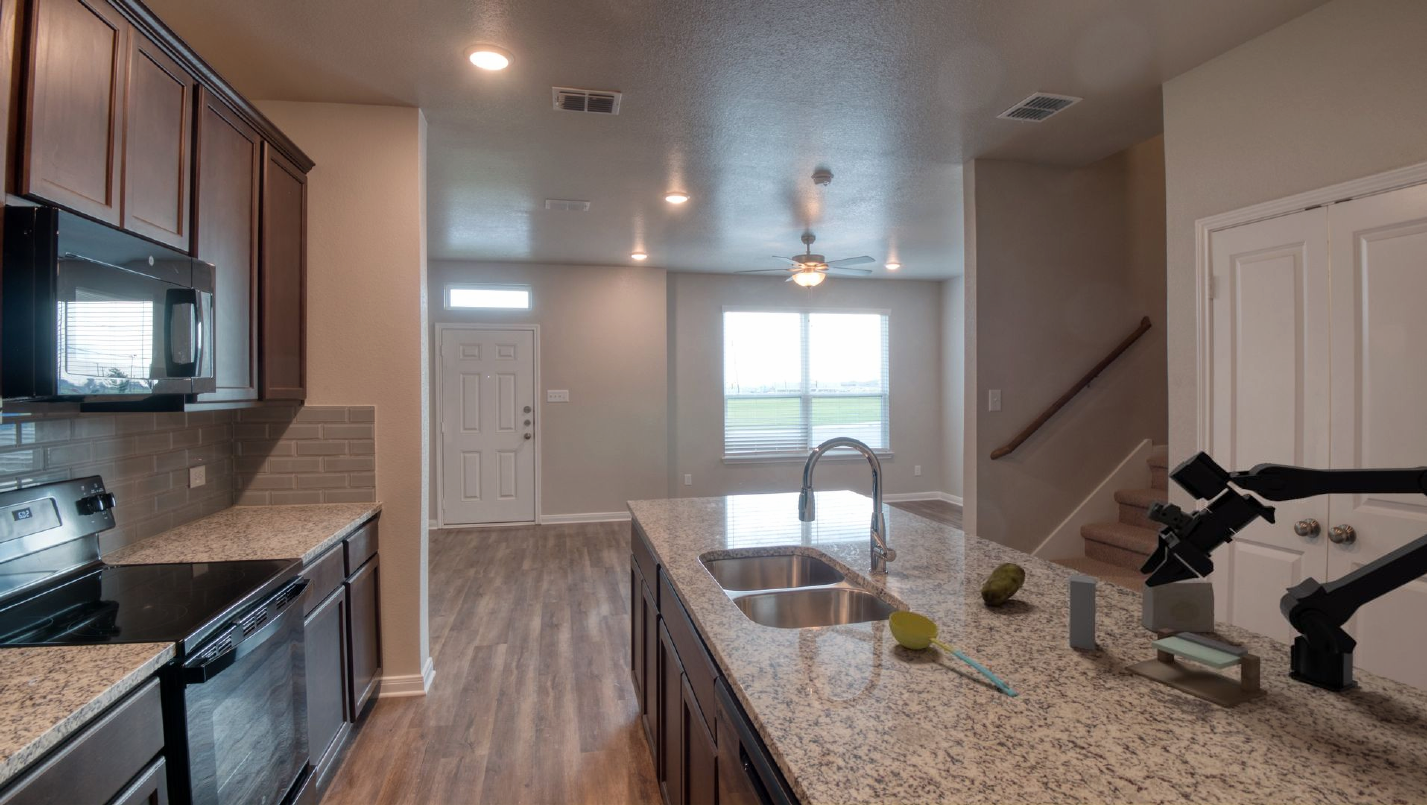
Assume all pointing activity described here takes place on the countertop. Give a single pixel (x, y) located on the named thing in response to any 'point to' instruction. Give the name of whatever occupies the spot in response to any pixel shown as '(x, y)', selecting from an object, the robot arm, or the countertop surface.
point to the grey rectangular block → (1082, 611)
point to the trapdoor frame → (1202, 677)
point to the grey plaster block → (1179, 606)
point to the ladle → (930, 640)
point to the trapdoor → (1201, 650)
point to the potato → (1003, 583)
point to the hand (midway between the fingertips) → (1144, 578)
